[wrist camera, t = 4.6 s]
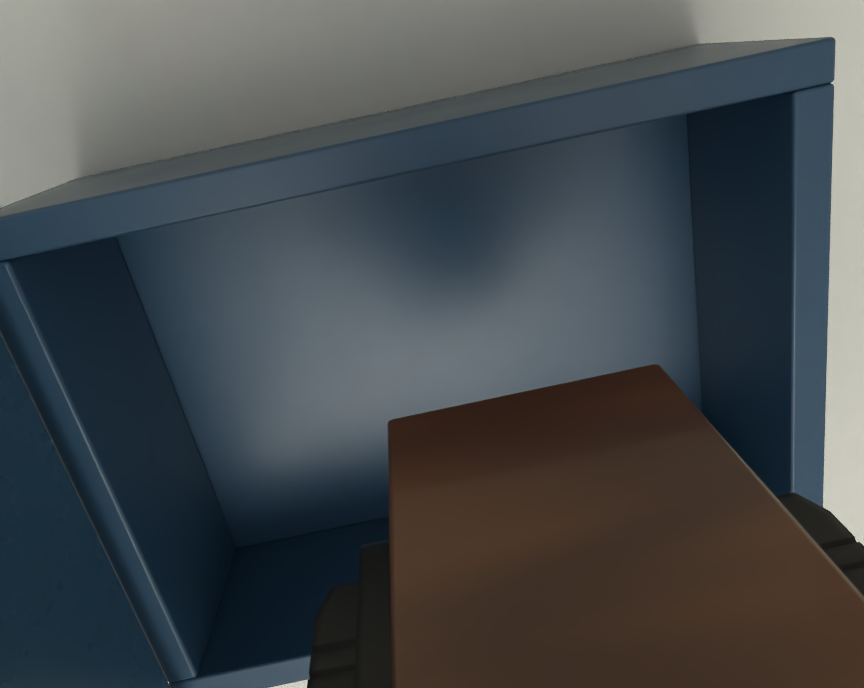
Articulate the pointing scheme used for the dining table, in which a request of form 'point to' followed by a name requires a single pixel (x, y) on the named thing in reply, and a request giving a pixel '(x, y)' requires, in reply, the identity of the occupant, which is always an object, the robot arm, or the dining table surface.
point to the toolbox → (412, 314)
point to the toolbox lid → (56, 569)
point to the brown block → (602, 550)
